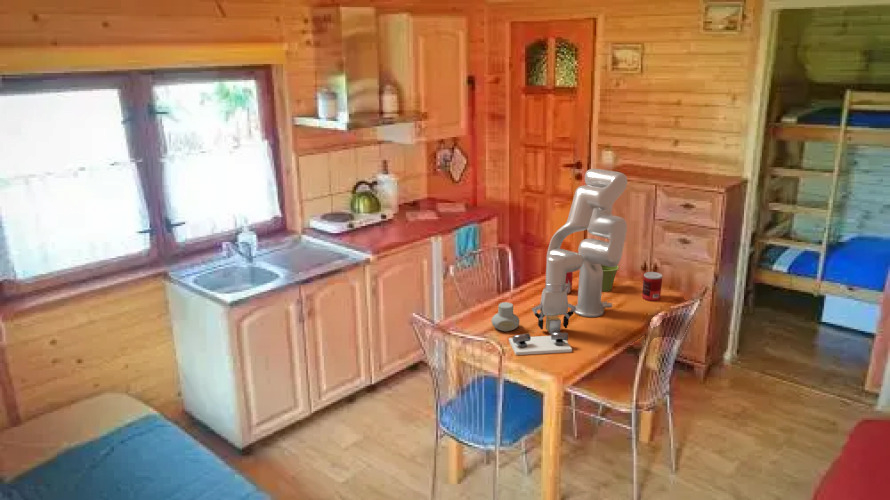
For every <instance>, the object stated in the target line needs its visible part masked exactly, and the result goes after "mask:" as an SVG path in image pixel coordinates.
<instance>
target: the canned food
mask: <svg viewBox="0 0 890 500" xmlns="http://www.w3.org/2000/svg"><path fill="white" fill-rule="evenodd" d="M662 283H663V274H662V273H660V272H655V271H648V272H645V273H643V281H642V291H641V297H642V299H643V300H644V299H645V301H648V302H658V301H659V300H660V299H661V294H662Z"/></svg>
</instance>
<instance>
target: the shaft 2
mask: <svg viewBox="0 0 890 500" xmlns="http://www.w3.org/2000/svg"><path fill="white" fill-rule="evenodd" d="M550 336H551V340H556V346H563V340H566V341H568V340H569V333H568V332H561V331H560V332H551V334H550Z"/></svg>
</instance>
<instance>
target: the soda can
mask: <svg viewBox="0 0 890 500" xmlns="http://www.w3.org/2000/svg"><path fill="white" fill-rule="evenodd" d="M573 275H574V272H569V273H566V281H565V283H569V287H566V290H567V295H568V294H569V293H571V292H572V289H573V277H574V276H573Z"/></svg>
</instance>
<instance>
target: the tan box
mask: <svg viewBox="0 0 890 500" xmlns="http://www.w3.org/2000/svg"><path fill="white" fill-rule="evenodd" d="M545 317H546V318H545V330H546V331H547V332H548V334H549V335H551V332H560V333H561V327H562V326H561V325H562V319H560V317H559V315H550V316H545Z"/></svg>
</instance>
